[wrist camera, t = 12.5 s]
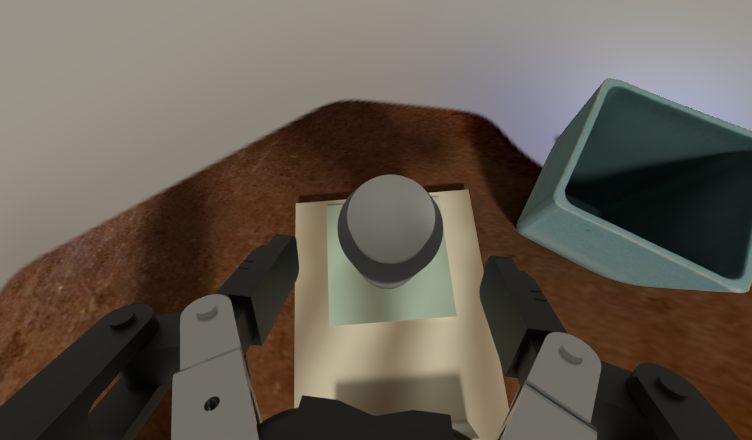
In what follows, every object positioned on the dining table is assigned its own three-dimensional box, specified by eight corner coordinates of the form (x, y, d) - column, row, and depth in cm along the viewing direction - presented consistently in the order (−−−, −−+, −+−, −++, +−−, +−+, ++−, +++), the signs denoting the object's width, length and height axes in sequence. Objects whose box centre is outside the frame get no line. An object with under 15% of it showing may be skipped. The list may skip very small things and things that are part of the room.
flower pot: (527, 154, 24) (608, 71, 15) (630, 202, 22) (785, 140, 14) (484, 240, 22) (551, 201, 13) (595, 299, 20) (750, 298, 12)
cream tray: (465, 193, 23) (478, 175, 20) (542, 619, 15) (583, 701, 12) (298, 206, 23) (285, 191, 20) (296, 637, 16) (274, 723, 12)
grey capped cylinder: (413, 228, 21) (442, 156, 11) (419, 286, 20) (460, 271, 9) (356, 232, 21) (329, 164, 11) (359, 291, 20) (332, 280, 9)
